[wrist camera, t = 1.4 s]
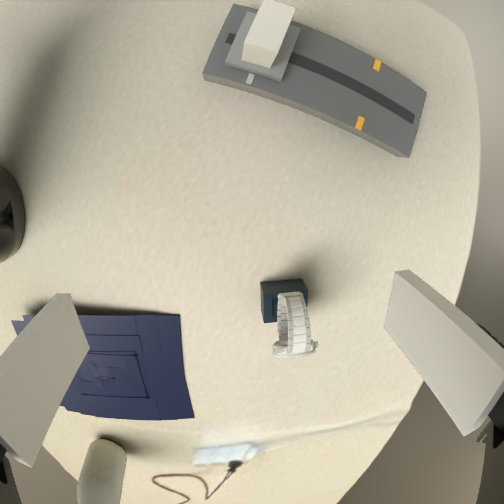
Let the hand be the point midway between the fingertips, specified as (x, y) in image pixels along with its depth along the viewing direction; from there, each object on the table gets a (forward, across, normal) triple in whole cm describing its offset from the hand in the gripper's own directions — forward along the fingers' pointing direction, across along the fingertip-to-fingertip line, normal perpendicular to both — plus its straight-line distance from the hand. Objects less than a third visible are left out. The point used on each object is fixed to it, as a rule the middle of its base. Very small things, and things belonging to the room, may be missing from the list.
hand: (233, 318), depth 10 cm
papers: (+25, -24, -25) cm, 42 cm away
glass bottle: (+24, -33, -53) cm, 67 cm away
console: (+24, +12, +15) cm, 31 cm away
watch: (+24, +6, -13) cm, 28 cm away
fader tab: (+21, +4, +18) cm, 28 cm away
